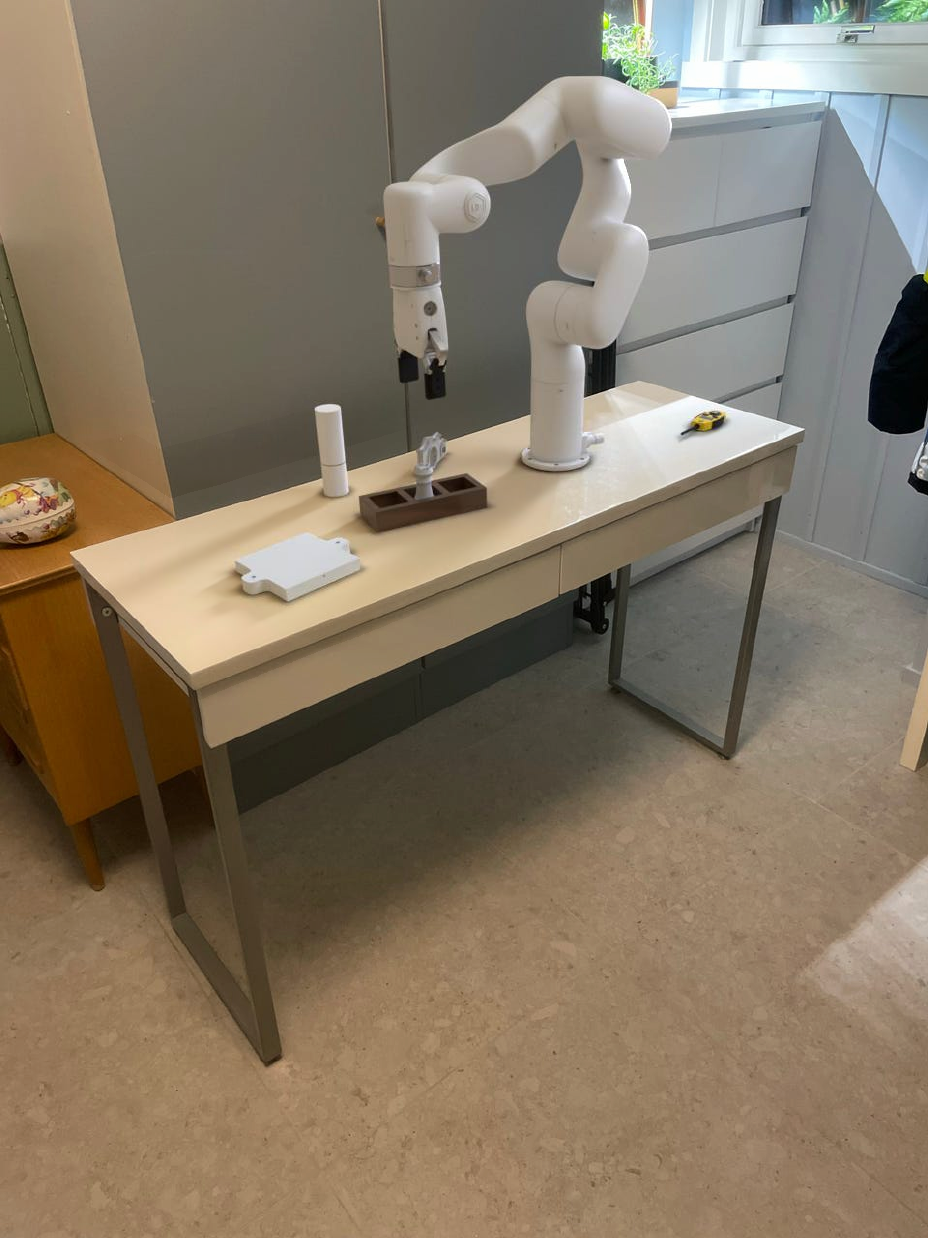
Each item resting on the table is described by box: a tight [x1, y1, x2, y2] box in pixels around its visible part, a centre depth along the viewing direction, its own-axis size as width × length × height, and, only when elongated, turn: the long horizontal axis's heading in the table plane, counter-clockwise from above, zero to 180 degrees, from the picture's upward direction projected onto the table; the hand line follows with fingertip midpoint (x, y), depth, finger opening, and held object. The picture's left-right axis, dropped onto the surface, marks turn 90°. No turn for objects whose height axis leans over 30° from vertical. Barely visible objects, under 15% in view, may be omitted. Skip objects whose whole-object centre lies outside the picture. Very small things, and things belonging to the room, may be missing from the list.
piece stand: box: [358, 472, 488, 533], centre depth 153 cm, size 7×20×4 cm, turn 117°
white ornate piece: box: [415, 431, 448, 470], centre depth 170 cm, size 12×2×6 cm, turn 161°
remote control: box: [680, 409, 727, 436], centre depth 185 cm, size 5×2×15 cm
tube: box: [314, 403, 349, 498], centre depth 158 cm, size 4×4×15 cm
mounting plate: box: [234, 531, 361, 602], centre depth 136 cm, size 18×13×2 cm
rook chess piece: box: [412, 463, 434, 500], centre depth 152 cm, size 4×4×8 cm
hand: (422, 389), depth 145 cm, fingers open, 9 cm apart
